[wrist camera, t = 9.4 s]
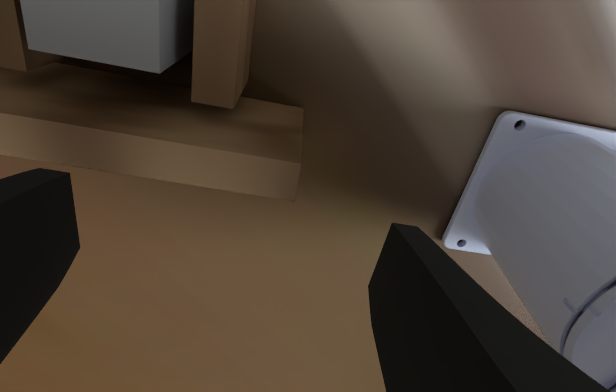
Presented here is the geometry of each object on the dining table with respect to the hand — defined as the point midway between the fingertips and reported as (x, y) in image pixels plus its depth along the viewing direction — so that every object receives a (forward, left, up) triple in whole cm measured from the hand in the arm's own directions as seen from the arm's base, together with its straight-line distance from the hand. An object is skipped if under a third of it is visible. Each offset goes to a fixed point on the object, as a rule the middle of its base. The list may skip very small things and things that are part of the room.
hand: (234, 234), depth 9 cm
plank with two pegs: (+5, -1, -10) cm, 12 cm away
